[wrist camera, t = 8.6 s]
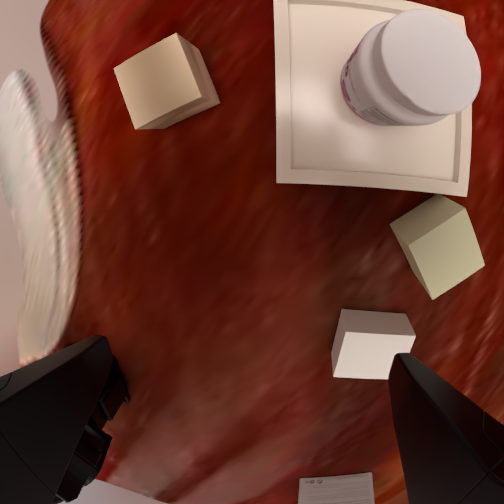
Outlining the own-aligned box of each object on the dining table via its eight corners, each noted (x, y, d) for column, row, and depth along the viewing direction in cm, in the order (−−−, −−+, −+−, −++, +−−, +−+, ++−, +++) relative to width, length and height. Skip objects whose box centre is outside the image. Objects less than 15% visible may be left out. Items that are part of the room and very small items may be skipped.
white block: (330, 350, 23) (333, 376, 20) (341, 307, 22) (345, 331, 19) (390, 354, 23) (397, 379, 20) (404, 312, 21) (415, 335, 18)
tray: (277, 179, 19) (276, 182, 18) (274, -3, 14) (272, -12, 13) (457, 192, 17) (466, 196, 16) (454, 21, 13) (463, 16, 11)
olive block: (412, 271, 20) (432, 299, 16) (389, 223, 19) (408, 245, 15) (457, 242, 18) (484, 265, 15) (437, 193, 18) (465, 208, 14)
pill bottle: (343, 42, 15) (374, -19, 7) (418, 63, 14) (491, 28, 6) (333, 116, 16) (362, 103, 9) (409, 135, 16) (484, 143, 8)
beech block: (164, 128, 19) (135, 129, 15) (145, 77, 17) (113, 68, 14) (221, 103, 18) (201, 96, 14) (199, 49, 16) (176, 32, 13)
